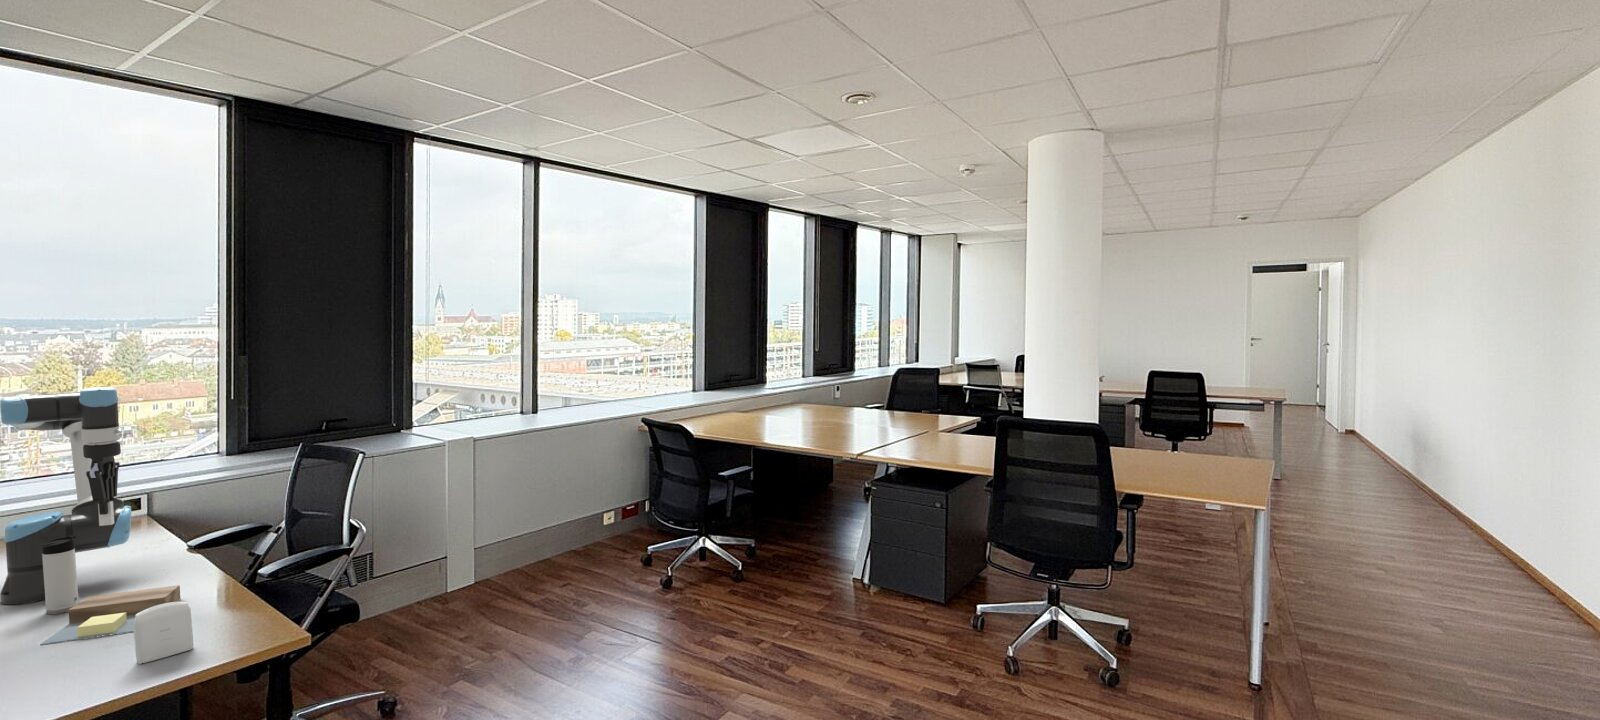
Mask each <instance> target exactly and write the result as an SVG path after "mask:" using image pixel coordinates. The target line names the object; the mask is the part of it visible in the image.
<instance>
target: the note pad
mask: <svg viewBox="0 0 1600 720" xmlns="http://www.w3.org/2000/svg"><path fill="white" fill-rule="evenodd" d="M126 622H127V617H126V612H125V613H118V614H110V615H103V616H95V617H91V618H89V619H88V620H87V621H85V622H84V623H83V624H81V625H80V626H78V627H77V634H78V637H83V636H90V635H97V634H104V633H111V632H115V631H116V630H117V629H118V628H119V627H121V626H122V625H123V624H124V623H126Z"/></svg>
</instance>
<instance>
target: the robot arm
mask: <svg viewBox="0 0 1600 720" xmlns="http://www.w3.org/2000/svg"><path fill="white" fill-rule="evenodd" d="M118 401H119V397H118V393H117V389H116V388H115V387H111V386H110V387H108V386H102V387H101V386H99V387H98V386H95V387H88V388H82V389H81V390H80V391H76V392H60V393H43V394H42V393H41V394H35V395H24V396H23V395H21V396H19V395H17V396H16V395H15V396H12V397H10V396H9V397H3V398H1V399H0V421H1V423H2V424H3V425H8V426H9V425H10V426H12V427H13V428H17V429H21V430H27V431H28V430H30V431H42V432H43V431H56V430H57V431H58V430H61V431H62V434H63V436H64V437H66V438H69V439H70V449H71V456H72V464H73V465H72V466H73V473H74V481H75V490H76V492H75V493H76V498H77V499H76V500H77V504H75V506H73V507H72V508H71V514H66V515H64V513H63V512H62V511H60V510H55V511H54V510H53V511H47V512H42V513H41V512H40V513H36V514H32V515H28V516H26V517H25V516H24V517H21V518H18V519H16V520H14V521H11V522H10V523H8V524H7V525H6V526H5V529H4V539H3V542H4V543H5V551H6V552H5V553H6V555H5V557H6V569H7V570H6V571H7V576H6V577H5V581H4V583H3V585H2V588H1V591H0V603H1V604H3V605H19V604H18V603H22V604H28V602H29V603H34V602H33V601H35V602H39V601H38V600H40V601H44V600H43V599H45V587H44V573H43V559H42V557H43V555H42V551H43V550H42V544H44V543H46V542H48V541H51V540H54V539H58V538H63V537H68V536H75V538H74V547H75V550H74V551H75V554H77V553H83V552H87V551H88V552H89V551H93V550H98V549H99V550H100V549H105V548H111V547H115V546H119V545H123V544H126V543H127V542H128V541H129V538H130V534H131V527H132V523H131V522H132V506H130V505H125V502H124V500H123V499H121V498H118V497H117V495H118V481H119V478H118V477H119V469H120V462H119V461H118V462H116V460H115V457H116V456H120V455H121V453H122V450H121V449H122V447H121V442H120V441H119V440H120V439H121V438H120V434H121V433H122V429H120V423H119V402H118Z"/></svg>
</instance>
